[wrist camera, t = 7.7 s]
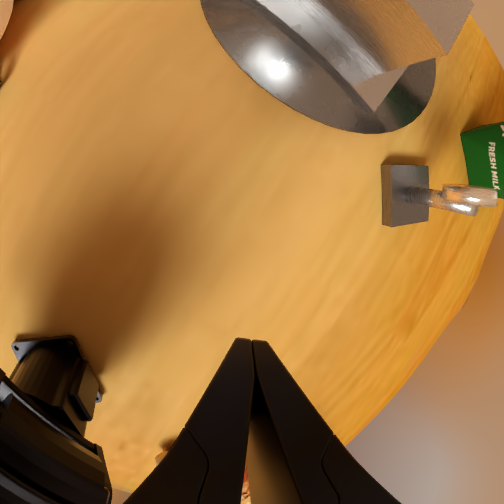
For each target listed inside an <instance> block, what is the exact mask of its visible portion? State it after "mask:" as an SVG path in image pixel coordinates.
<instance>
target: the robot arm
mask: <svg viewBox="0 0 504 504" xmlns="http://www.w3.org/2000/svg"><path fill="white" fill-rule="evenodd" d="M69 341H72V342H73V344H72V343H70V342H69ZM16 346H17V347H18V348H17V347H16ZM12 349H13V351H14V353H15V355H16V357H17V359H18V361H19V362H18V364H17V366H16V367H15V369H14V371H13V372H12V374H11V376H10V378H8V377H7V376H6V373H5V372H4V371H3V370H2V369H1V368H0V504H111V500H112V487H111V482H110V479H109V475H108V471H107V467H106V463H105V459H104V455H103V450H102V447H100V446H99V445H97V444H93V443H92V442H90V441H88V440H87V439H85V438H84V435H85V430H86V424H87V421H91V420H92V419H93V413H94V408H95V403H97V402H101V401H102V394H101V392H100V390H99V384H98V382H97V380H96V378H95V376H94V373H93V371H92V369H91V367H90V365H89V362H88V361H87V360H86V359H85V358H84V356H83V353H82V351H81V349H80V346H79V344H78V341H77V339H76V338H75V337H74V336H72V335H65V336H56V337H46V338H36V339H25V340H15V341H14V342H13V343H12ZM246 461H247V471H248V481H249V491H250V500H251V504H401V503H400V502H399V501H398V500H397V499H395V498H394V497H393V496H392V495H391V494H390V493H389V492H388V491H387V490H386V489H384V488H383V487H382V486H381V485H380V484H379V483H378V482H377V481H376V480H375V479H374V478H373V477H372V476H371V475H370V474H369V473H368V472H367V471H366V470H365V469H364V468H363V467H362V466H361V465H360V464H359V463H358V462H357V461H356V460H355V459H354V457H353V456H352V455H351V454H350V453H349V451H348V450H347V449H346V448H345V447H344V445H343V444H342V443H341V442H340V440H339V439H338V438H337V436H336V435H333V431H332V430H331V429H330V427H329V426H328V425H327V423H326V422H325V421H324V419H323V418H322V417H321V415H320V414H319V413H318V411H317V410H316V409H315V407H314V406H313V405H312V403H311V402H310V401H309V399H308V398H307V397H306V395H305V394H304V392H303V391H302V390H301V388H300V387H299V386H298V384H297V383H296V381H295V380H294V379H293V377H292V376H291V374H290V373H289V372H288V370H287V369H286V367H285V366H284V365H283V363H282V362H281V360H280V359H279V358H278V356H277V355H276V353H275V352H274V351H273V349H272V348H271V346H270V345H269V343H268V342H267V341H263V340H252V341H251V340H250V339H246V338H236V339H235V340H234V342H233V344H232V346H231V347H230V349H229V351H228V353H227V354H226V356H225V358H224V360H223V361H222V363H221V365H220V367H219V368H218V370H217V372H216V374H215V375H214V377H213V379H212V380H211V382H210V384H209V386H208V387H207V389H206V391H205V392H204V394H203V396H202V398H201V399H200V401H199V403H198V404H197V406H196V408H195V409H194V411H193V413H192V414H191V416H190V418H189V419H188V421H187V423H186V424H185V428H183V429H182V431H181V432H180V434H179V436H178V437H177V439H176V440H175V442H174V443H173V445H172V446H171V448H170V449H169V451H168V452H167V454H166V455H165V457H164V458H163V459H162V460H161V462H160V463H159V464H158V465H157V466H156V468H155V469H154V470H153V471H152V473H151V474H150V475H149V476H148V477H147V478H146V479H145V480H144V481H143V482H142V484H141V485H140V486H139V487H138V488H137V489H136V490H135V491H134V492H133V493H132V494H131V496H129V498H128V499H127V500H126V501H125V502H124V503H123V504H241V497H242V488H243V480H244V472H245V463H246Z"/></svg>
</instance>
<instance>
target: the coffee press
mask: <svg viewBox="0 0 504 504" xmlns="http://www.w3.org/2000/svg"><path fill="white" fill-rule="evenodd" d="M13 2H14V0H0V40H1V38H2V36H3V34H4V31H5V29H6V27H7V24H8V22H9V19H10V16H11V13H12V8H13ZM1 84H2V82H1V81H0V85H1Z"/></svg>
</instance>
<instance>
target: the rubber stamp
mask: <svg viewBox="0 0 504 504" xmlns="http://www.w3.org/2000/svg"><path fill="white" fill-rule="evenodd" d="M381 177H382V225H386V226H389V227H395V226H401V225H407V224H413V223H419V222H425V221H428V215H429V207H434V208H439V209H443V210H448V211H452V212H457V213H461V214H466V215H470V216H475V215H476V214H477V212H478V206H487V207H492V206H497V199H498V190H496V189H492V188H487V187H481V186H474V185H464V184H443V191H440V190H433V189H429V172H428V166H420V165H381Z"/></svg>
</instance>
